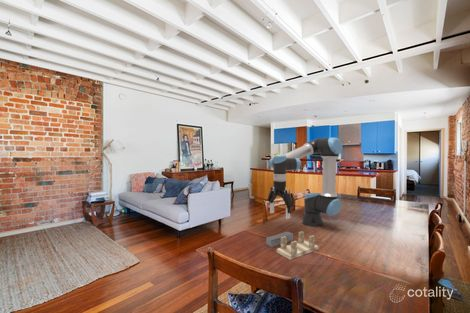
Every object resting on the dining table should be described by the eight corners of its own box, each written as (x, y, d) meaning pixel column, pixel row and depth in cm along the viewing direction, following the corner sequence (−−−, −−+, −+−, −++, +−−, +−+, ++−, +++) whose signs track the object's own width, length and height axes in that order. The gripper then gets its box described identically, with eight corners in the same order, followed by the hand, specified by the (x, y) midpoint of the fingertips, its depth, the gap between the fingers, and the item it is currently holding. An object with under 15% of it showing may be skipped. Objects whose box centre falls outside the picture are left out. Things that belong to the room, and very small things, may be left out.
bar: (287, 238, 143) (287, 231, 143) (293, 240, 139) (293, 233, 139) (266, 245, 133) (266, 237, 133) (271, 247, 129) (271, 240, 129)
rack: (304, 243, 134) (304, 230, 134) (318, 249, 126) (318, 235, 126) (276, 252, 123) (276, 238, 122) (290, 259, 114) (290, 244, 114)
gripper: (261, 179, 144) (261, 211, 144) (290, 183, 122) (290, 222, 123) (270, 178, 148) (270, 210, 148) (300, 182, 126) (300, 219, 127)
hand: (279, 215), depth 136 cm, fingers open, 13 cm apart
